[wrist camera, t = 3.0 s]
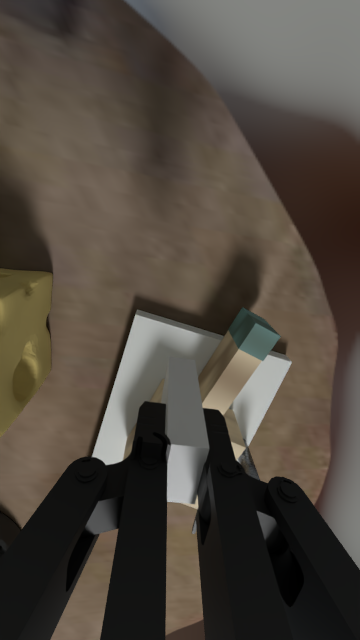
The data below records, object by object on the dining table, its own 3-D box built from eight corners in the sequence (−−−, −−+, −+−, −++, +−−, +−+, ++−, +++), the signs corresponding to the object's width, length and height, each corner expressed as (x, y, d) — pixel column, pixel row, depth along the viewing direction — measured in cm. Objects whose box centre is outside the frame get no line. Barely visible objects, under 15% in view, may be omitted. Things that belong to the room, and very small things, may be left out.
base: (214, 495, 35) (226, 566, 28) (88, 468, 33) (66, 537, 26) (285, 355, 29) (324, 399, 22) (137, 309, 27) (126, 342, 19)
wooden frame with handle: (193, 465, 31) (198, 509, 26) (126, 438, 29) (119, 480, 25) (289, 332, 26) (315, 357, 21) (214, 292, 25) (226, 309, 20)
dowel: (243, 449, 31) (258, 496, 26) (231, 446, 30) (244, 493, 25) (248, 439, 30) (265, 485, 25) (236, 436, 30) (250, 482, 25)
